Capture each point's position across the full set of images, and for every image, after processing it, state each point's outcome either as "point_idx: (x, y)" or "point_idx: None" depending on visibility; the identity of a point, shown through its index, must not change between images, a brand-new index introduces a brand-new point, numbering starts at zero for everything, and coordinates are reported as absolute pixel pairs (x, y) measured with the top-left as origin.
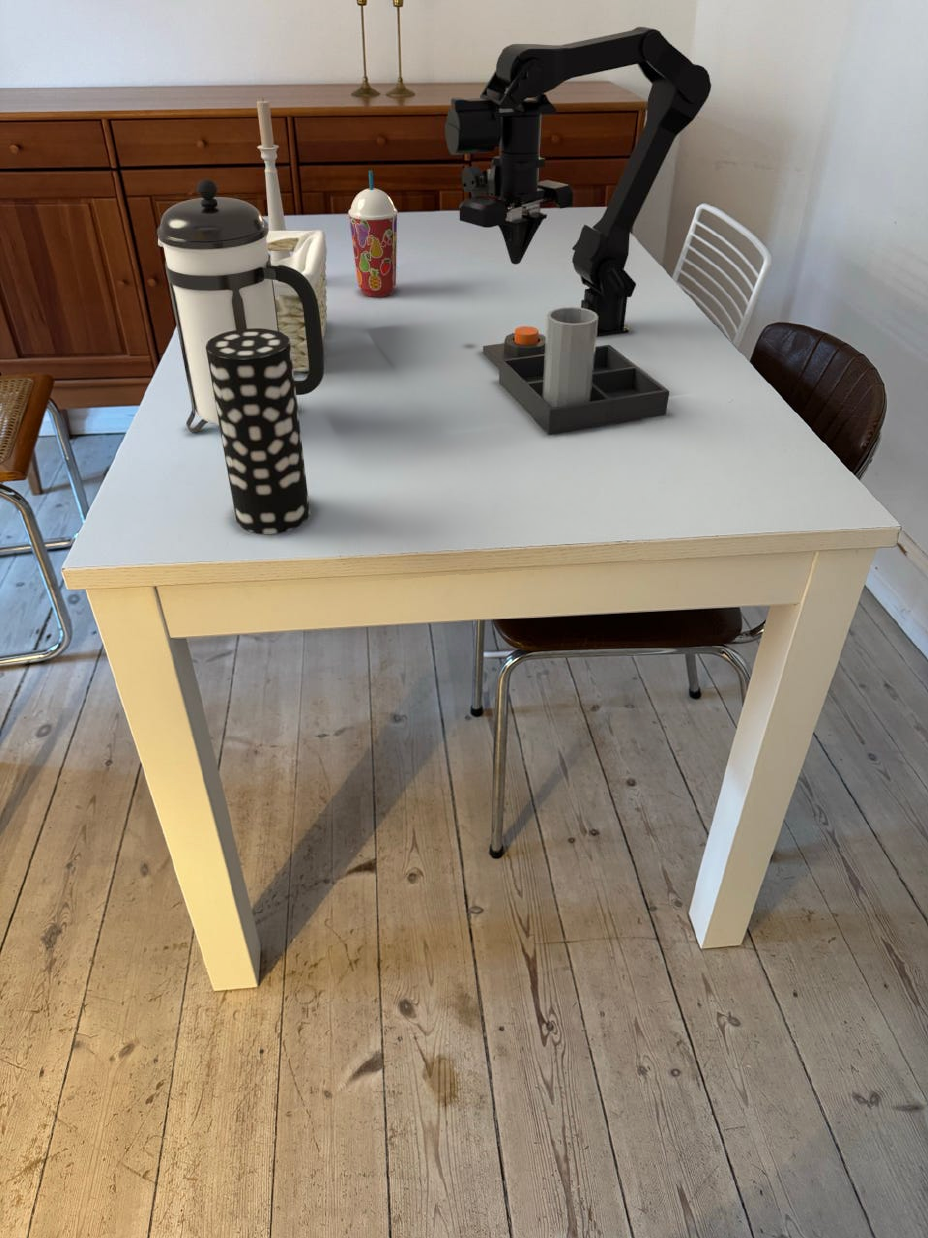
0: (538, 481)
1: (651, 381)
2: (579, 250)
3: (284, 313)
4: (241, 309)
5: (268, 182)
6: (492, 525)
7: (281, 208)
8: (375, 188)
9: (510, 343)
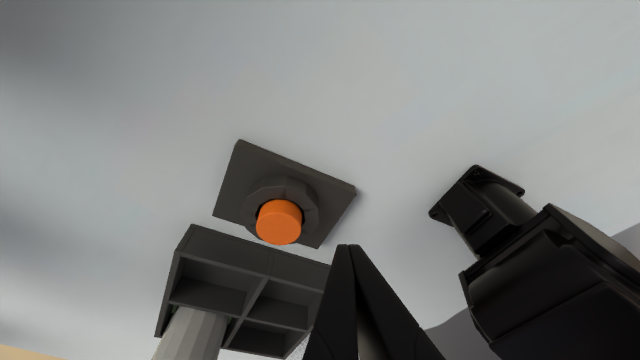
0: (116, 335)
1: (291, 346)
2: (564, 315)
3: None
4: None
5: None
6: (52, 345)
7: None
8: None
9: (244, 212)
